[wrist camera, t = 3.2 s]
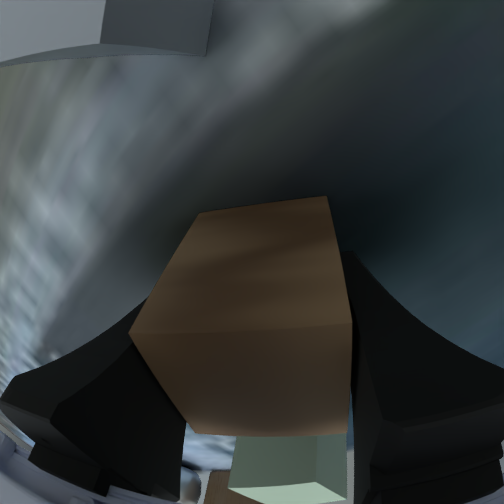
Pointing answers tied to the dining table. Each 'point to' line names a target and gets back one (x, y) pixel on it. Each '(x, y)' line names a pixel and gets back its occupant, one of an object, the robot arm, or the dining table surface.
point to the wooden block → (224, 491)
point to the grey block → (101, 28)
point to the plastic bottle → (189, 487)
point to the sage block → (290, 469)
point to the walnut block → (254, 323)
